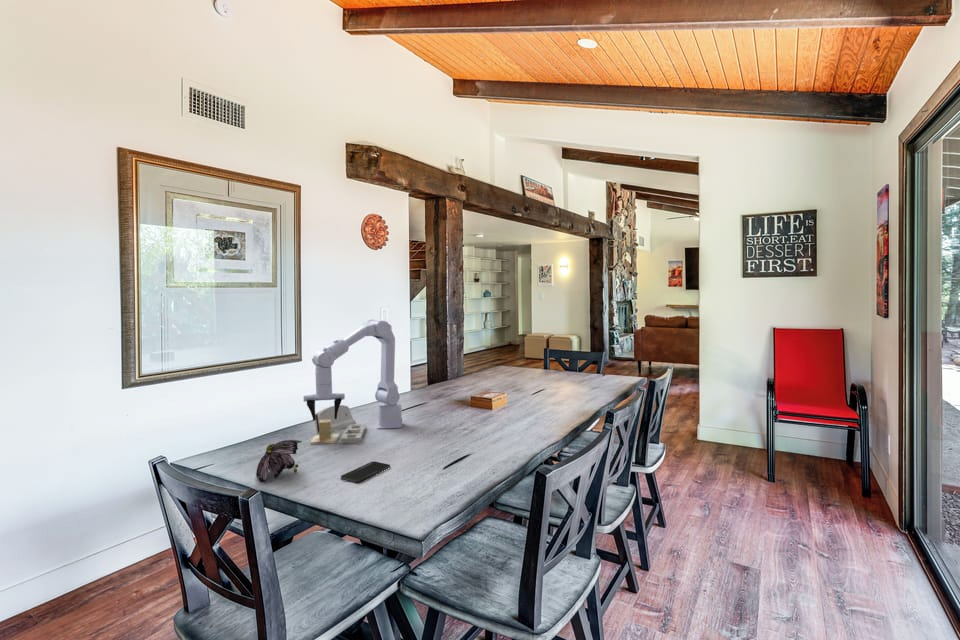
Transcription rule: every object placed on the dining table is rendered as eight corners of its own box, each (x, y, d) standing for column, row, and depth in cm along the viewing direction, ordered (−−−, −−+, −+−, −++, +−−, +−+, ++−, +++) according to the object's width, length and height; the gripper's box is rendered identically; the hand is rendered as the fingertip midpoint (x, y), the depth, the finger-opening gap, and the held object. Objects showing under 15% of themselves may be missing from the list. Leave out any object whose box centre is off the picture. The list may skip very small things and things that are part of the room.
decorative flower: (258, 438, 157) (302, 424, 156) (273, 467, 161) (317, 454, 160) (239, 466, 143) (288, 451, 143) (257, 497, 147) (305, 483, 147)
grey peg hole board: (365, 429, 200) (365, 423, 200) (360, 443, 182) (360, 437, 182) (348, 429, 199) (348, 424, 199) (340, 443, 181) (340, 438, 181)
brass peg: (330, 439, 184) (330, 422, 184) (319, 439, 183) (318, 422, 183) (331, 436, 188) (331, 419, 188) (320, 436, 187) (319, 419, 187)
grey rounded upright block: (323, 434, 193) (317, 409, 194) (316, 436, 196) (310, 411, 197) (356, 424, 207) (350, 401, 208) (349, 426, 210) (343, 403, 211)
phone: (339, 476, 148) (372, 460, 161) (339, 480, 148) (372, 464, 161) (359, 481, 144) (391, 464, 158) (359, 485, 145) (392, 468, 158)
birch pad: (339, 435, 191) (339, 433, 191) (335, 443, 182) (335, 441, 182) (315, 436, 190) (315, 434, 190) (310, 444, 181) (310, 442, 181)
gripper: (344, 380, 190) (345, 415, 191) (304, 382, 187) (306, 417, 188) (343, 383, 183) (344, 420, 184) (302, 385, 180) (303, 422, 181)
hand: (325, 419), depth 186 cm, fingers open, 7 cm apart
